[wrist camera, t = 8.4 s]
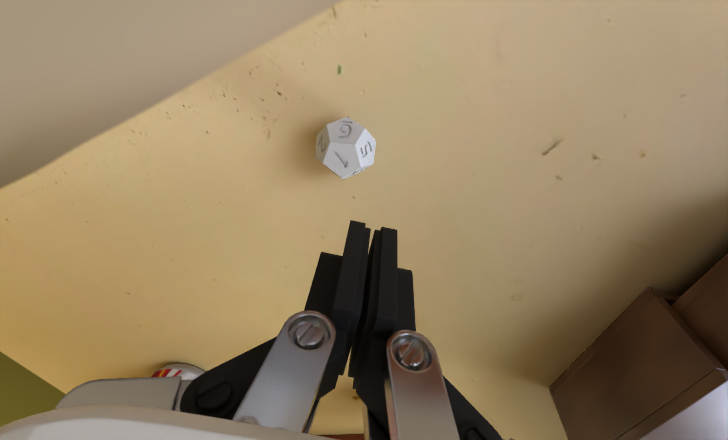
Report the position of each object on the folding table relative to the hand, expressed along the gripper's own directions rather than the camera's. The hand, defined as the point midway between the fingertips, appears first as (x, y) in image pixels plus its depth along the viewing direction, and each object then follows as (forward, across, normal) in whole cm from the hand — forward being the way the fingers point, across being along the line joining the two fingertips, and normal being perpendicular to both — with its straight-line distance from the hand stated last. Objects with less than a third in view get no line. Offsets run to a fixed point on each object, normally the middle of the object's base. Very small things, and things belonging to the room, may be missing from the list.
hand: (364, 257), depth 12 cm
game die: (+11, +2, 0) cm, 12 cm away
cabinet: (+11, -29, +14) cm, 34 cm away
